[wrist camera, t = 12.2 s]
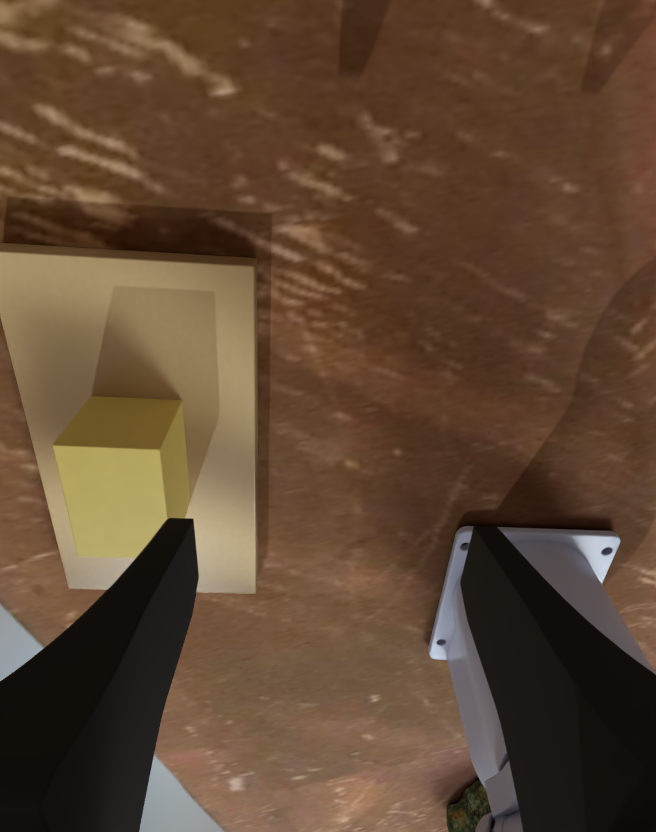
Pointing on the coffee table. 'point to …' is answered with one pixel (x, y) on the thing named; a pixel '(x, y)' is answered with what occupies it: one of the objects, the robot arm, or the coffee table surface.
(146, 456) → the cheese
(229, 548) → the board
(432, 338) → the coffee table surface
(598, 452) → the coffee table surface
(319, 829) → the coffee table surface
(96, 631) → the robot arm
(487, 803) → the seashell
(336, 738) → the coffee table surface
